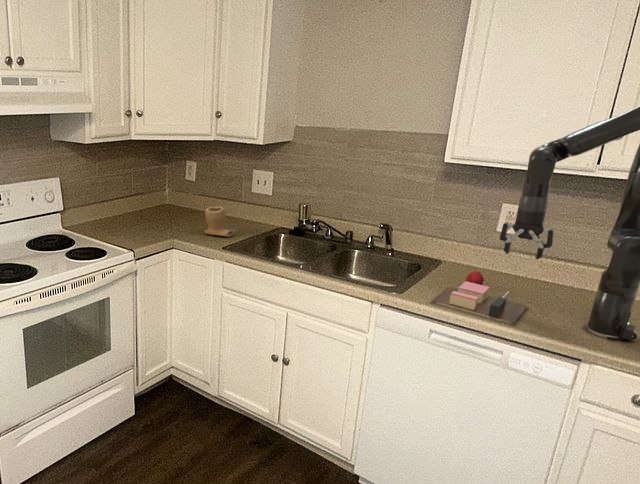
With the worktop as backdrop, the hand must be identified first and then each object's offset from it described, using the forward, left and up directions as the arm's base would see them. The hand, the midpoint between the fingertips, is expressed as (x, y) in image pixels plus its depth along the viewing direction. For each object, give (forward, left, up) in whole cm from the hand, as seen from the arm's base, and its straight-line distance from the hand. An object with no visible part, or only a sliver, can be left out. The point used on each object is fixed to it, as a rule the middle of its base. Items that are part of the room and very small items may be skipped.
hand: (522, 256), depth 173 cm
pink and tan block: (+13, +7, -20) cm, 25 cm away
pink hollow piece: (+131, -3, -21) cm, 132 cm away
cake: (+13, -4, -20) cm, 24 cm away
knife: (+3, +1, -20) cm, 20 cm away
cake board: (+9, 0, -21) cm, 23 cm away
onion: (+16, -17, -21) cm, 31 cm away
